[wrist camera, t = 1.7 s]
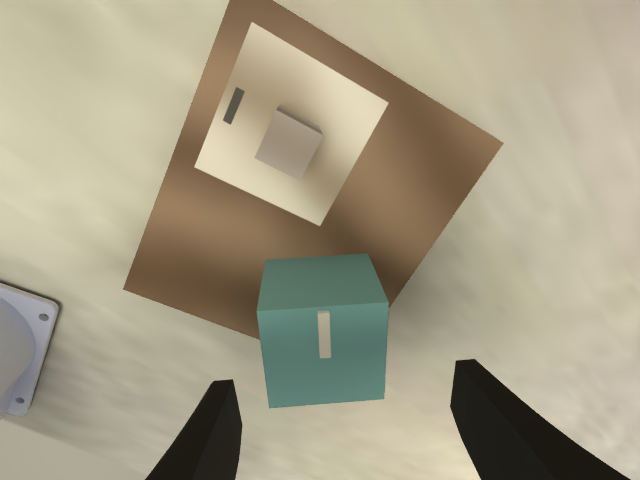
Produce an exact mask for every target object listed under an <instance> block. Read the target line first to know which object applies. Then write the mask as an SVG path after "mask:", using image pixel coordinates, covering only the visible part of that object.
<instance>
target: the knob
mask: <svg viewBox="0 0 640 480" xmlns="http://www.w3.org/2000/svg"><path fill="white" fill-rule="evenodd" d="M388 306H389V302H388V299H387V297H386V295H385V292H384V290H383V288H382V285H381V283H380V281H379V278H378V276H377V274H376V271H375V269H374V267H373V264H372V262H371V260H370V257H369V255H368V253H365V254H349V255H333V256H317V257H301V258H285V259H269V260H265V264H264V270H263V276H262V282H261V288H260V294H259V300H258V306H257V318H258V326H259V333H260V341H261V349H262V356H263V364H264V372H265V380H266V387H267V395H268V403H269V408H278V407H291V406H303V405H316V404H328V403H341V402H353V401H366V400H378V399H384V392H385V371H386V349H387V327H388Z"/></svg>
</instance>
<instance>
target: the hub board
mask: <svg viewBox="0 0 640 480" xmlns="http://www.w3.org/2000/svg"><path fill="white" fill-rule="evenodd" d="M502 145H503V142H501V141H499V140H498V139H496V138H495V137H493V136H491V135H490V134H488V133H487V132H485V131H483V130H482V129H480V128H478V127H477V126H475V125H474V124H472V123H470V122H469V121H467V120H465V119H464V118H462V117H461V116H459V115H457V114H456V113H454V112H452V111H451V110H449V109H448V108H446V107H444V106H443V105H441V104H440V103H438V102H436V101H435V100H433V99H431V98H430V97H428V96H427V95H425V94H423V93H422V92H420V91H418V90H417V89H415V88H414V87H412V86H410V85H409V84H407V83H405V82H404V81H402V80H401V79H399V78H397V77H396V76H394V75H392V74H391V73H389V72H388V71H386V70H384V69H383V68H381V67H380V66H378V65H376V64H375V63H373V62H371V61H370V60H368V59H367V58H365V57H363V56H362V55H360V54H358V53H357V52H355V51H354V50H352V49H350V48H349V47H347V46H345V45H344V44H342V43H341V42H339V41H337V40H336V39H334V38H333V37H331V36H329V35H328V34H326V33H324V32H323V31H321V30H320V29H318V28H316V27H315V26H313V25H311V24H310V23H308V22H307V21H305V20H303V19H302V18H300V17H298V16H297V15H295V14H294V13H292V12H290V11H289V10H287V9H285V8H284V7H282V6H281V5H279V4H277V3H276V2H274V1H273V0H230V1H229V4H228V7H227V9H226V12H225V15H224V17H223V20H222V23H221V25H220V28H219V31H218V34H217V36H216V39H215V42H214V44H213V47H212V50H211V53H210V55H209V58H208V61H207V63H206V66H205V69H204V72H203V74H202V77H201V80H200V82H199V85H198V88H197V90H196V93H195V96H194V99H193V101H192V104H191V107H190V109H189V112H188V115H187V118H186V120H185V123H184V126H183V128H182V131H181V134H180V136H179V139H178V142H177V145H176V147H175V150H174V153H173V155H172V158H171V161H170V164H169V166H168V169H167V172H166V174H165V177H164V180H163V183H162V185H161V188H160V191H159V193H158V196H157V199H156V201H155V204H154V207H153V210H152V212H151V215H150V218H149V220H148V223H147V226H146V229H145V231H144V234H143V237H142V239H141V242H140V245H139V248H138V250H137V253H136V256H135V258H134V261H133V264H132V266H131V269H130V272H129V275H128V277H127V280H126V283H125V285H124V288H123V290H126V291H129V292H132V293H134V294H137V295H140V296H142V297H145V298H148V299H151V300H153V301H156V302H159V303H162V304H164V305H167V306H170V307H172V308H175V309H178V310H181V311H183V312H186V313H189V314H191V315H194V316H197V317H200V318H202V319H205V320H208V321H210V322H213V323H216V324H219V325H221V326H224V327H227V328H229V329H232V330H235V331H238V332H240V333H243V334H246V335H249V336H251V337H254V338H257V339H259V340H260V333H259V326H258V318H257V306H258V300H259V294H260V288H261V282H262V276H263V270H264V264H265V260H269V259H285V258H301V257H317V256H333V255H349V254H365V253H368V255H369V257H370V260H371V262H372V264H373V267H374V269H375V271H376V274H377V276H378V278H379V281H380V283H381V285H382V288H383V290H384V292H385V295H386V297H387V299H388V302H389V306H388V309H389V307H390V306H391V304H392V303H393V301H394V300H395V298H396V297H397V296H398V294H399V293H400V291H401V290H402V288H403V287H404V286H405V284H406V283H407V281H408V280H409V278H410V277H411V275H412V274H413V273H414V271H415V270H416V268H417V267H418V265H419V264H420V263H421V261H422V260H423V258H424V257H425V255H426V254H427V252H428V251H429V250H430V248H431V247H432V245H433V244H434V242H435V241H436V240H437V238H438V237H439V235H440V234H441V232H442V231H443V229H444V228H445V227H446V225H447V224H448V222H449V221H450V219H451V218H452V217H453V215H454V214H455V212H456V211H457V209H458V208H459V206H460V205H461V204H462V202H463V201H464V199H465V198H466V196H467V195H468V194H469V192H470V191H471V189H472V188H473V186H474V185H475V183H476V182H477V181H478V179H479V178H480V176H481V175H482V173H483V172H484V171H485V169H486V168H487V166H488V165H489V163H490V162H491V160H492V159H493V158H494V156H495V155H496V153H497V152H498V150H499V149H500V147H501V146H502Z"/></svg>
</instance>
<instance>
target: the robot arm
mask: <svg viewBox="0 0 640 480" xmlns="http://www.w3.org/2000/svg"><path fill="white" fill-rule="evenodd" d="M58 311H59V307H58V305H57V304H56V303H55V302H53V301H51V300H49V299H46V298H43V297H40V296H37V295H34V294H31V293H28V292H25V291H22V290H20V289H17V288H14V287H11V286H8V285H5V284H2V283H0V419H1V418H2V417H3V416H4V414H5V413H8V414H11V415H15V416H22V415H24V414H25V413H26V412H27V411H28V409H29V407H30V404H31V400H32V397H33V394H34V390H35V387H36V384H37V380H38V377H39V374H40V371H41V367H42V364H43V361H44V357H45V354H46V351H47V347H48V344H49V341H50V337H51V334H52V331H53V327H54V324H55V321H56V317H57V314H58ZM44 314H46V315H47V316H48V317H47V316H45V315H44ZM450 407H451V410H452V413H453V416H454V419H455V422H456V425H457V428H458V430H459V433H460V436H461V439H462V441H463V443H464V445H465V447H466V449H467V451H468V454H469V456H470V458H471V460H472V462H473V464H474V466H475V468H476V470H477V472H478V474H479V476H480V478H481V480H630V479H629V478H627V477H626V476H624V475H622V474H621V473H619V472H618V471H616V470H615V469H613V468H612V467H610V466H609V465H607V464H606V463H604V462H603V461H601V460H600V459H598V458H597V457H595V456H594V455H593V454H591V453H590V452H588V451H587V450H585V449H584V448H582V447H581V446H580V445H578V444H577V443H575V442H574V441H573V440H571V439H570V438H569V437H567V436H566V435H565V434H563V433H562V432H561V431H559V430H558V429H557V428H555V427H554V426H553V425H552V424H550V423H549V422H548V421H546V420H545V419H544V418H543V417H541V416H540V415H539V414H538V413H536V412H535V411H534V410H533V409H532V408H530V407H529V406H528V405H527V404H526V403H524V402H523V401H522V400H521V399H520V398H518V397H517V396H516V395H515V394H514V393H513V392H511V391H510V390H509V389H508V388H507V387H506V386H505V385H503V384H502V383H501V382H500V381H499V380H498V379H497V378H495V377H494V376H493V375H492V374H491V373H490V372H489V371H488V370H486V369H485V368H484V367H483V366H482V365H481V364H480V363H478V362H477V361H476V360H475V359H470V360H458V361H456V364H455V372H454V380H453V388H452V396H451V404H450ZM241 434H242V421H241V416H240V411H239V406H238V401H237V396H236V392H235V387H234V382H233V379H232V380H220V381H214V382H213V383H212V384H211V385H210V387H209V388H208V390H207V392H206V393H205V395H204V396H203V398H202V400H201V401H200V403H199V404H198V406H197V408H196V409H195V411H194V412H193V414H192V415H191V417H190V418H189V420H188V421H187V423H186V424H185V426H184V427H183V429H182V430H181V432H180V433H179V435H178V436H177V437H176V439H175V440H174V442H173V443H172V445H171V446H170V447H169V449H168V450H167V451H166V453H165V454H164V455H163V457H162V458H161V459H160V461H159V462H158V463H157V465H156V466H155V467H154V469H153V470H152V471H151V473H150V474H149V475H148V477H147V478H146V479H145V480H235V477H236V472H237V467H238V462H239V454H240V445H241Z"/></svg>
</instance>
